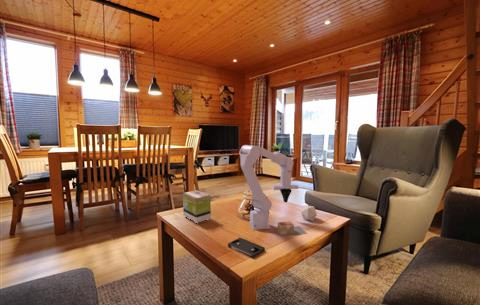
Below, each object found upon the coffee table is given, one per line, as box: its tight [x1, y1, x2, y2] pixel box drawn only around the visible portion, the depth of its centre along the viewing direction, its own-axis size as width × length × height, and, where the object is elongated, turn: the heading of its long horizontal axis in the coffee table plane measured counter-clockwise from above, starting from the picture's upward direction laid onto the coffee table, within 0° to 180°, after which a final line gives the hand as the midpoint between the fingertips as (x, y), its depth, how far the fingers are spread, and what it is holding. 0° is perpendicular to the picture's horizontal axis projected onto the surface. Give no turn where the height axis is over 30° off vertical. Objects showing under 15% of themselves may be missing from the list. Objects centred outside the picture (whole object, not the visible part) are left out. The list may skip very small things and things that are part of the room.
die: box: [300, 205, 318, 222], centre depth 130 cm, size 8×9×10 cm
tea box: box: [182, 189, 212, 224], centre depth 133 cm, size 15×10×15 cm, turn 42°
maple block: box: [277, 220, 295, 234], centre depth 114 cm, size 4×4×7 cm
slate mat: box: [273, 226, 308, 238], centre depth 115 cm, size 14×9×1 cm, turn 102°
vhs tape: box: [227, 237, 266, 259], centre depth 98 cm, size 14×8×2 cm, turn 48°
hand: (285, 201), depth 130 cm, fingers closed
